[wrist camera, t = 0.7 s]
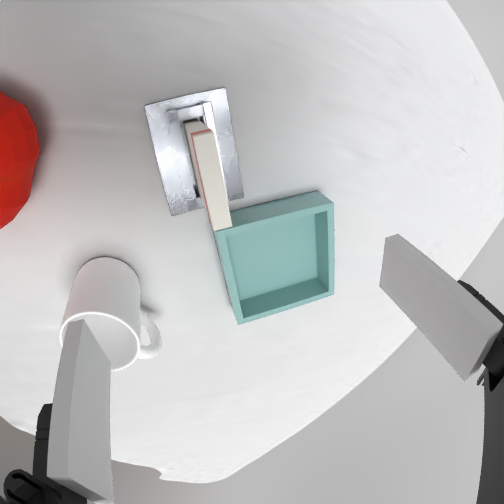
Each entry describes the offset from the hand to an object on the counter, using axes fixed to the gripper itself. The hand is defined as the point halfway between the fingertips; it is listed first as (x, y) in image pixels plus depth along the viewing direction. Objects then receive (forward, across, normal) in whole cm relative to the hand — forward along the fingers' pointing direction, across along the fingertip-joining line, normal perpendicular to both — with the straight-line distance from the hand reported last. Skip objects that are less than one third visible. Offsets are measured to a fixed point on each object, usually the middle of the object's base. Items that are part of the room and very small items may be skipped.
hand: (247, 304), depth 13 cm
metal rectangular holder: (+23, +1, +1) cm, 23 cm away
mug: (+23, -12, -13) cm, 29 cm away
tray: (+22, +8, -13) cm, 27 cm away
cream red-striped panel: (+22, +1, +1) cm, 22 cm away
